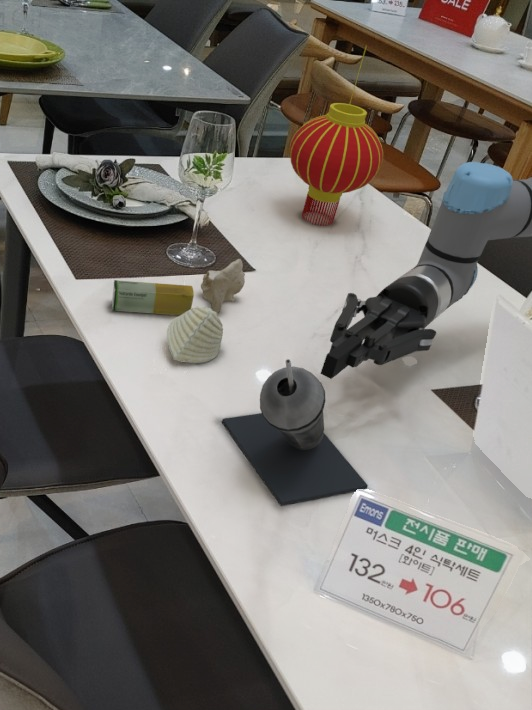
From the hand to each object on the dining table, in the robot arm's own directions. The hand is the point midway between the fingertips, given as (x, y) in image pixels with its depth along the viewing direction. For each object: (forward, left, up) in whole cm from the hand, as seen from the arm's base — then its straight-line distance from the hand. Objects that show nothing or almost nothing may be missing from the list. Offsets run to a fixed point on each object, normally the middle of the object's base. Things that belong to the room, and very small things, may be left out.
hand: (329, 366), depth 89 cm
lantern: (+62, -39, -12) cm, 75 cm away
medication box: (+34, +7, -12) cm, 37 cm away
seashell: (+23, +6, -12) cm, 27 cm away
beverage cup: (0, 0, -10) cm, 10 cm away
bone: (+35, -4, -12) cm, 38 cm away
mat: (-2, +3, -12) cm, 12 cm away
